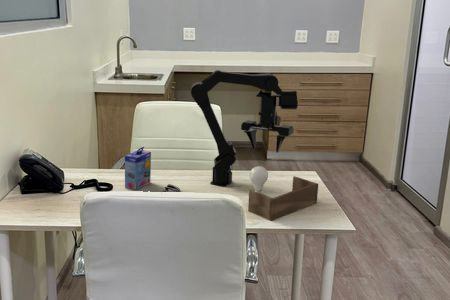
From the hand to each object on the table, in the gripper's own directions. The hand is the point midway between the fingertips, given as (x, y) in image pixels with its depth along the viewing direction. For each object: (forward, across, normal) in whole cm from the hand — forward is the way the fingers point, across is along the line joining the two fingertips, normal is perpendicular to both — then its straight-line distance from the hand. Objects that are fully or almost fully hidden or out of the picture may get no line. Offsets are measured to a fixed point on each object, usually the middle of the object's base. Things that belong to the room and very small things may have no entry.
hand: (265, 150), depth 168 cm
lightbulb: (+13, -4, +14) cm, 19 cm away
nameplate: (+14, +22, +34) cm, 43 cm away
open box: (+13, -14, +18) cm, 26 cm away
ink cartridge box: (+13, +39, +26) cm, 49 cm away
